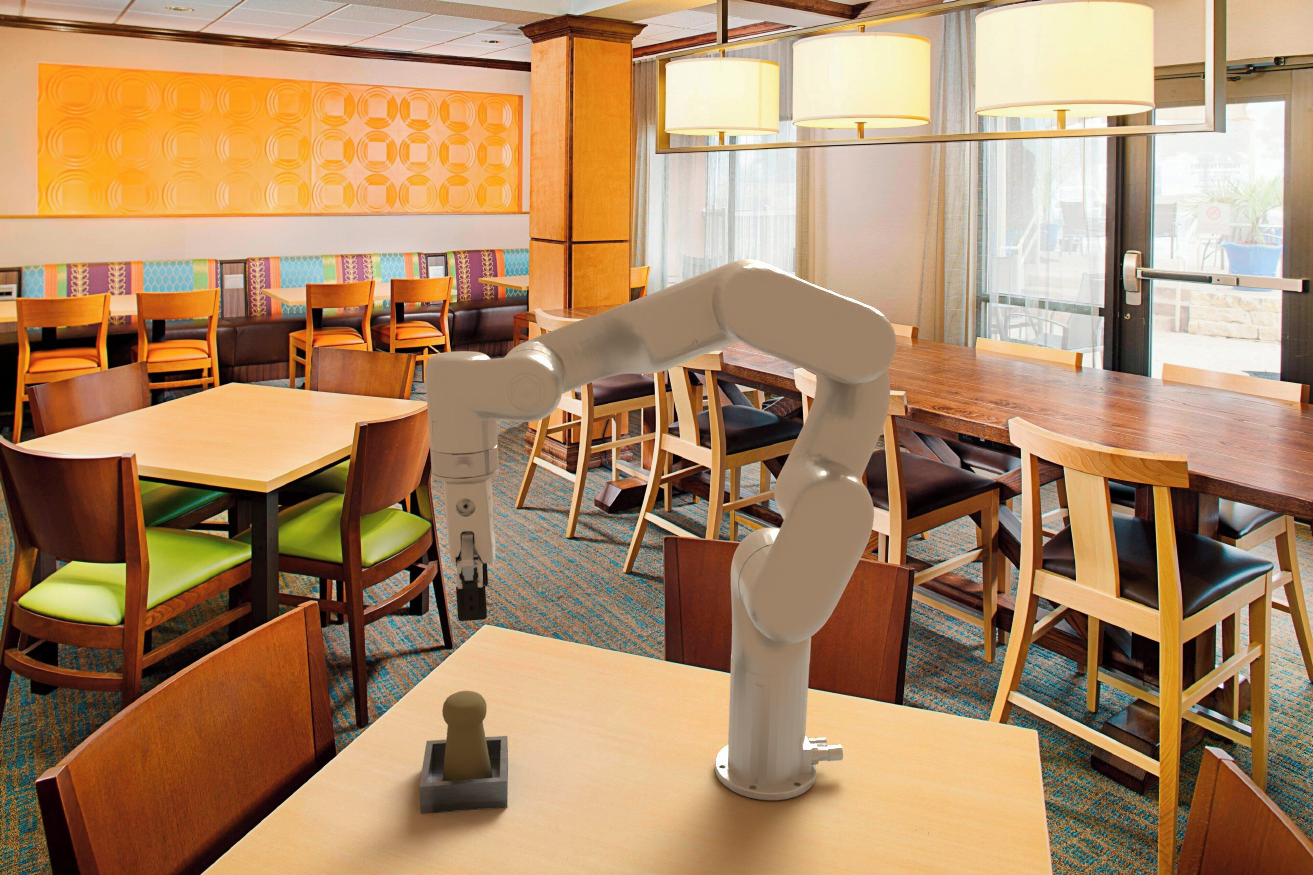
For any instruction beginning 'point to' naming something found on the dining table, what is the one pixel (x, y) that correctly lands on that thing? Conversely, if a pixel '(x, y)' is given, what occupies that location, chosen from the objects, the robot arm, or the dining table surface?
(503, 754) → the socket
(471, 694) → the cork
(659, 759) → the dining table surface
